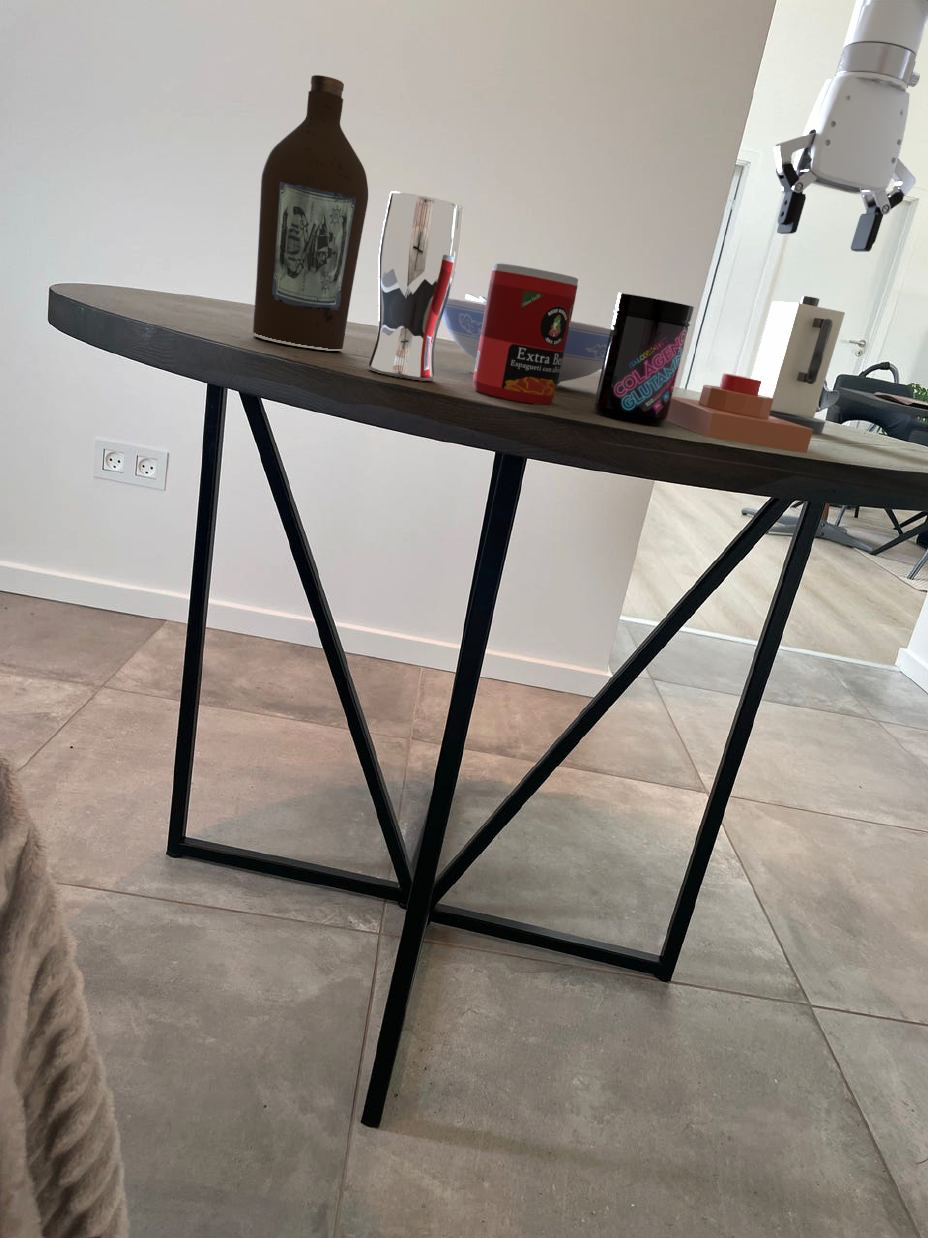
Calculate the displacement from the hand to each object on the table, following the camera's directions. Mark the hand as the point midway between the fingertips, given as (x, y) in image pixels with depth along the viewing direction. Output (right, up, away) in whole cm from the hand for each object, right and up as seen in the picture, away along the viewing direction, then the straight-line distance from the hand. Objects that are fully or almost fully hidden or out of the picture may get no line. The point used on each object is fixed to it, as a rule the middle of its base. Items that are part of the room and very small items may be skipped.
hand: (823, 241), depth 105 cm
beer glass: (-47, -20, -20) cm, 54 cm away
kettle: (-3, -18, +6) cm, 19 cm away
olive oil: (-58, -14, -7) cm, 60 cm away
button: (-15, -22, -18) cm, 32 cm away
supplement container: (-26, -25, -21) cm, 42 cm away
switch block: (-16, -25, -17) cm, 34 cm away
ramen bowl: (-34, -15, +2) cm, 37 cm away
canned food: (-36, -23, -20) cm, 47 cm away
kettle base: (-3, -19, +7) cm, 21 cm away
